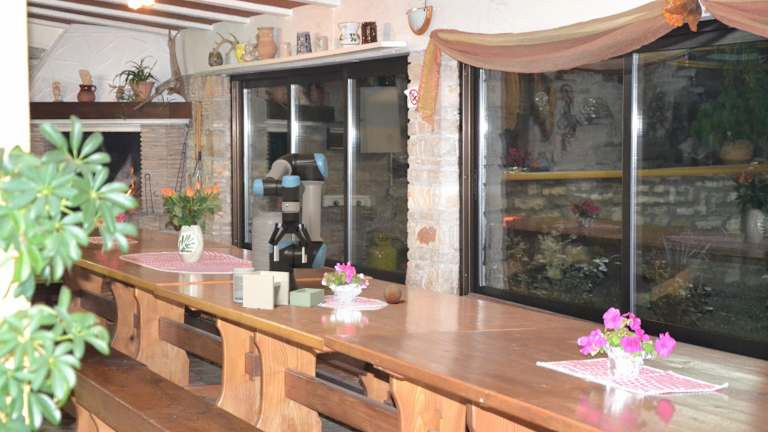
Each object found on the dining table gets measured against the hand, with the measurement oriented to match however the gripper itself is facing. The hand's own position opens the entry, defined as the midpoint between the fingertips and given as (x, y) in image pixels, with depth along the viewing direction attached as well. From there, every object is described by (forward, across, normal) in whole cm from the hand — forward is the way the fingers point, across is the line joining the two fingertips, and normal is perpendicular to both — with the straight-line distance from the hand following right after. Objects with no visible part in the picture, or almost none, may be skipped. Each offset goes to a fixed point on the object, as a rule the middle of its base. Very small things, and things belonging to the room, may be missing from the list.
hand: (290, 261), depth 449 cm
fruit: (+19, +36, +26) cm, 49 cm away
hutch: (+19, -8, -7) cm, 21 cm away
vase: (+18, -56, +83) cm, 102 cm away
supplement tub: (+19, -22, -2) cm, 29 cm away
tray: (+19, +6, +5) cm, 20 cm away
